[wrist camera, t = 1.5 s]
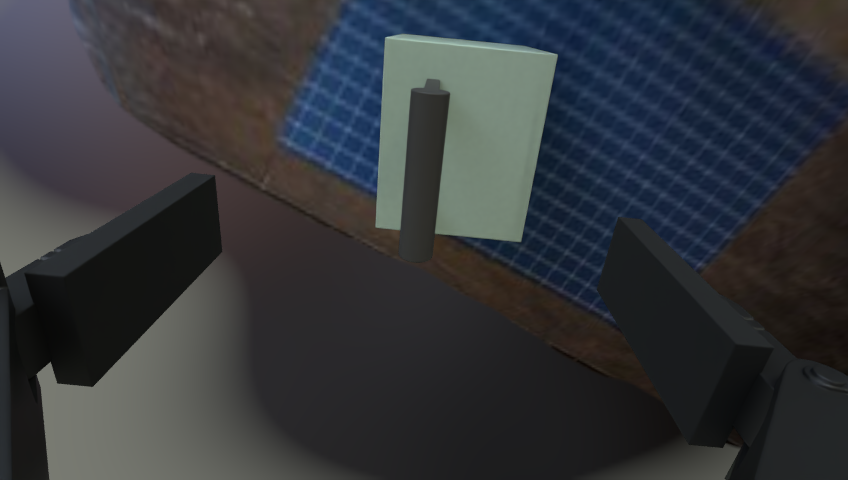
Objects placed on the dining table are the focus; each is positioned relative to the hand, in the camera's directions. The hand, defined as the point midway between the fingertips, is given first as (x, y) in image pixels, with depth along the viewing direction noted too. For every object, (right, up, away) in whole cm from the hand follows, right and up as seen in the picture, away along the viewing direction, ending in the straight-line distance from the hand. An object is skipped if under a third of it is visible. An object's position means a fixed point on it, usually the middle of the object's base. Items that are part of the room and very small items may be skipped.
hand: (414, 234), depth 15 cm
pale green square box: (+8, +6, +16) cm, 18 cm away
